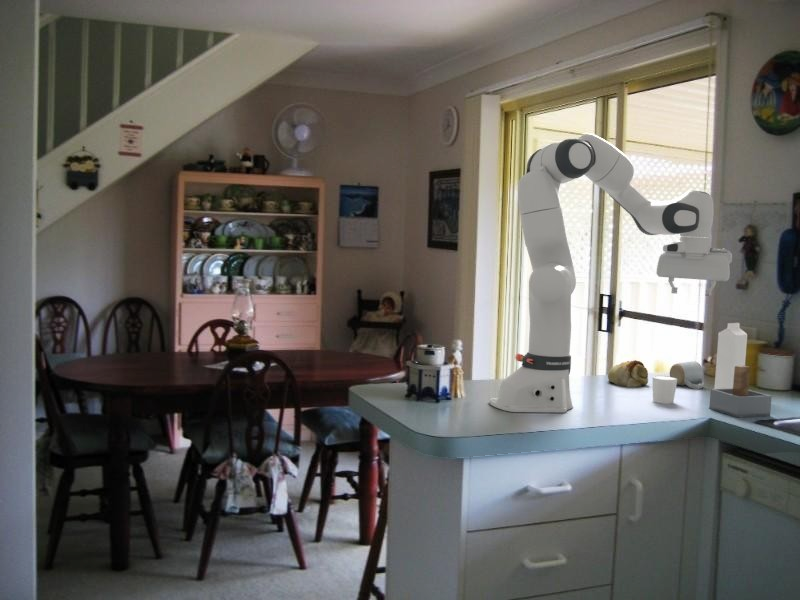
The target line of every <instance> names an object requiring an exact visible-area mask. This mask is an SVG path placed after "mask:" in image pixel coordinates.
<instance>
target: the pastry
mask: <svg viewBox="0 0 800 600" xmlns="http://www.w3.org/2000/svg"><path fill="white" fill-rule="evenodd" d="M607 379H608V381H609V382H610V383H612V384H614V385H615V386H622V387H626V388H633V387H635V388H640V387H644V386H647V385H648V383H649V371H648V370H647V368H646V367H645V365H644V363H643V362H642V361H640V360H630V361H629V360H628V361H623V362H620V364H616V365H614V366H613V367H611V368H610V370H609V372H608V375H607Z"/></svg>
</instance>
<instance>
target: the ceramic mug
mask: <svg viewBox="0 0 800 600" xmlns="http://www.w3.org/2000/svg"><path fill="white" fill-rule="evenodd" d="M669 377H674V378H677V384H676V386H679V385H681V386H680V387H683V386H684V387H685V385H686V386H688V388H691V389H693V390H694V389H695V390H701V389H703V387H704V384H705V382H704V370H703V367H702V365H701V364H700V363H699V362H698V361H696V360H691V361H685V362H678V363H677V362H676V363H674V364H672V366H671V367H670V369H669Z"/></svg>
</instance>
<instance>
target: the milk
mask: <svg viewBox="0 0 800 600" xmlns="http://www.w3.org/2000/svg"><path fill="white" fill-rule="evenodd" d="M740 326H741V325H740V322H731V323H729V322H728V323H727V327H726V328H724V329H722V330H721V331H718V335H717V336H718V337H717V348H716V349H717V350H716V363H715V374H714V388H713V389H729V388H733V383H734V370H735V366H746V358H747V357H746V356H747V345H748V344H747V343H748V334H747V332H745V331H744V330H743V329H742V328H740Z"/></svg>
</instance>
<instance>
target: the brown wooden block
mask: <svg viewBox="0 0 800 600" xmlns="http://www.w3.org/2000/svg"><path fill="white" fill-rule="evenodd" d="M750 374H751V366H749V365H748V366H747V365H745V366H735V370H734V383H733V395H736V396H748V390H750V389H749V387H750V386H749V385H750V377H751V376H750Z"/></svg>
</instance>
